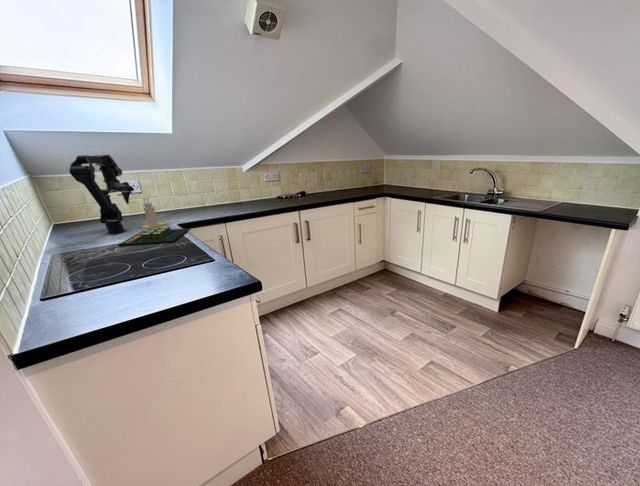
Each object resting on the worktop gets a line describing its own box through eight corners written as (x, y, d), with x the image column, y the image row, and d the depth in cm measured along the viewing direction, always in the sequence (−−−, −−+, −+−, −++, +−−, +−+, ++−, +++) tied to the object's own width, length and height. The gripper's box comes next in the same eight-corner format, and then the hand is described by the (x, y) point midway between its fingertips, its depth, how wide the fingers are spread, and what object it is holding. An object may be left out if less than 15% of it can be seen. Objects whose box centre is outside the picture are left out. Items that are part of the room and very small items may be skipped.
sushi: (142, 232, 169) (140, 226, 168) (190, 229, 174) (188, 223, 172) (118, 246, 147) (116, 239, 145) (174, 242, 151) (172, 235, 150)
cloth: (148, 228, 178) (148, 227, 178) (140, 227, 181) (140, 226, 181) (168, 223, 188) (167, 223, 188) (160, 222, 191) (160, 222, 191)
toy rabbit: (157, 225, 183) (148, 198, 176) (147, 226, 182) (138, 198, 175) (160, 223, 187) (152, 196, 181) (151, 224, 186) (142, 197, 180)
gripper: (102, 180, 162) (113, 209, 168) (136, 176, 178) (144, 202, 184) (88, 180, 165) (99, 208, 171) (122, 176, 181) (131, 202, 188)
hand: (119, 205), depth 179 cm, fingers open, 9 cm apart
